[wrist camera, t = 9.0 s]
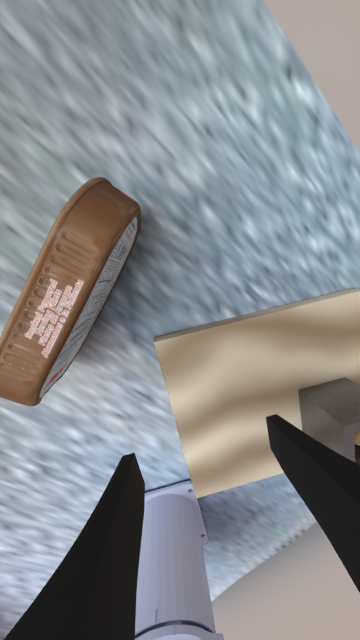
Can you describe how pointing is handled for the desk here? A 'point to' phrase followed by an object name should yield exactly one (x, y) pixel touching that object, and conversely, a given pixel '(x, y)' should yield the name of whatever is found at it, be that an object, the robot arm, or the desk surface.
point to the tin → (66, 289)
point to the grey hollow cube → (332, 415)
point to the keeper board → (253, 382)
